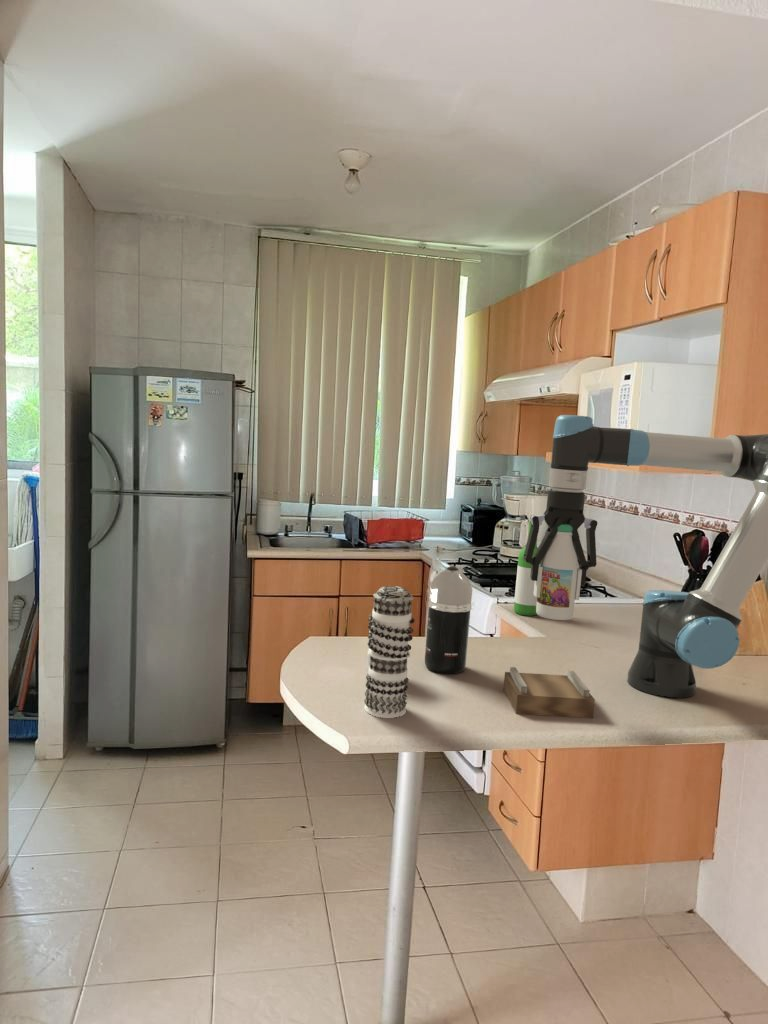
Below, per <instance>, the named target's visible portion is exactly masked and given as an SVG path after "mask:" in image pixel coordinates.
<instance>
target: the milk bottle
mask: <svg viewBox="0 0 768 1024" xmlns="http://www.w3.org/2000/svg"><path fill="white" fill-rule="evenodd" d="M572 530H573V528H572V527H571V525H569V524H562V525H560V526H559V527H558V532H557V534H556V535H555V537H554V538H553V540H552V541H551V543H550V545H549V547H548V549H547V551H546V553H545V555H544V557H543V559H542V560H541V566H542V567H543V570H542V580H541V591H540V598H538V597H537V605H536V613H537V614H536V615H537V616H539V617H541V618H545V619H548V620H549V619H550V620H554V621H555V620H557V621H568V620H571V619H572V618H573V617H574V612H575V611H574V610H575V601H576V600H575V592H576V581H577V569H578V567H579V564H578V561H577V556H576V552H575V550H574V546H573V542H572V535H573V534H572ZM559 531H561V532H559Z"/></svg>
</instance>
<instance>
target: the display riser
mask: <svg viewBox="0 0 768 1024" xmlns="http://www.w3.org/2000/svg"><path fill="white" fill-rule="evenodd" d="M590 690H591V689H589V688H588V686H587V685H586V684H585V683H584V681H583V680H582V679H581V677H579V675H578V674H577V673H576V672H575V671H574V670H568V671H567V674H566V675H563V674H545V673H532V672H530V673H527V672H519V671H518V669H517V667H515V666H514V667H513V666H510V668H509V671H504V678H503V691H504V693H505V694H506V695H505V696H506V697H507V699H508V701H509V703H510V705H511V707H512V709H513V711H514V713H515V714H517V715H518V714H519V715H534V716H535V715H537V716H553V717H571V718H587V719H593V718H594V712H595V711H594V709H595V701H596V699H595V698H594V697H593V695H591V694H592V693H590V692H591V691H590Z"/></svg>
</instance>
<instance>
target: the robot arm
mask: <svg viewBox="0 0 768 1024" xmlns="http://www.w3.org/2000/svg"><path fill="white" fill-rule="evenodd" d="M593 422H594V421H593V418H592V417H591V416H585V415H574V414H573V415H572V414H561V415H559V416H557V417H556V420H555V423H554V429H553V435H552V449H551V460H550V463H551V464H550V469H549V478H548V479H549V480H548V487H550V488H551V489H549V490H548V491H547V500H546V508H545V509H546V510H545V511H544V513H543V514H540V515H538V514H537V515H535V514H532V515H530V519H529V520H530V521H531V529H530V533H529V537H528V536H527V541H526V545H525V547H526V549H525V552H524V556H523V559H524V560H525V561H526V562H528V563H530V564H531V576H530V577H531V580H532V581H535V583H534V593H533V595H534V596H535V597H538V598H540V591H541V580H542V570H543V567H542V566H541V565H539V564H540V562H541V560H542V559H543V557H544V555H545V553H546V551H547V549H548V547H549V545H550V543H551V541H552V540H553V538H554V537H555V535H556V534H557V532H558V527H559V526H560V525H562V524H569V525H571V527H572V528H573V530H572V534H573V535H572V542H573V546H574V550H575V552H576V556H577V561H578V569H577V581H576V592H575V601H580V596H581V595H580V593H581V585H585V583H586V579H587V571H588V570H589V568H592V567H593V568H595V567H596V566H597V547H596V545H597V544H596V530H597V526H598V521H597V520H596V519H594V518H586V516H585V515H584V507H585V498H586V494H585V493H584V492H583V491H584V490H586V488H587V476H588V470H589V463H591V464H605V465H614V466H615V465H616V466H618V465H619V466H626V467H630V466H633V467H634V466H635V467H636V466H646V467H647V466H648V467H658V468H659V467H660V468H670V469H671V468H672V469H673V468H674V469H682V470H683V469H684V470H694V471H707V472H717V473H719V472H720V474H721V475H722V476H724V477H727V478H737V479H741V480H746V481H751V482H752V484H753V486H754V487H753V488H754V490H755V493H754V495H753V496H752V498H751V500H750V502H749V504H748V505H747V507H746V508H745V509H744V512H743V513H742V516H741V517H740V519H739V521H738V522H737V524H736V526H735V528H734V529H733V531H732V533H731V534H730V536H729V537H728V540H727V541H726V543H725V545H724V546H723V549H722V550H721V552H720V554H718V556H717V559H716V561H715V563H714V564H713V566H712V567H711V569H710V571H709V573H708V575H707V576H706V578H705V580H704V581H703V583H702V585H701V587H700V588H698V589H696V590H690V591H689V592H686V591H676V590H667V589H666V590H665V589H651V590H648V591H646V593H645V595H644V599H643V603H642V613H641V624H640V632H639V640H638V641H639V642H638V650H637V653H636V654H635V657H634V659H633V661H632V663H631V665H630V667H629V669H628V673H627V683H628V685H629V686H631V687H633V688H634V689H637V690H638V691H641V692H645V693H647V694H651V695H655V696H658V695H661V696H660V697H664V696H667V697H666V698H673V697H677V699H680V698H679V697H684V698H689V697H692V696H694V695H695V694H696V687H697V682H696V677H695V671H694V668H693V666H694V667H697V668H700V669H710V670H711V669H715V668H719V667H722V666H724V665H725V664H727V663H728V662H730V661H731V660H732V659H733V658H734V656H735V655H736V654H737V652H738V650H739V646H740V637H739V632H738V627H739V626H740V624H741V622H742V620H743V617H742V615H741V612H740V608H741V607H742V605H743V604H744V601H746V598H747V595H748V594H749V592H750V591H751V590H752V587H753V586H754V584H755V582H756V580H757V579H758V577H759V576H760V574H761V572H762V571H763V568H764V567H765V565H766V564H767V561H768V433H764V434H755V435H754V434H753V435H752V434H750V435H749V434H748V435H742V434H741V435H739V434H729V435H728V436H726V437H725V438H721V437H720V438H719V437H710V436H709V437H708V436H698V435H697V436H696V435H684V434H673V433H663V432H649V431H644V430H642V429H641V430H639V429H634V428H619V427H618V428H617V427H600V426H595V425H594V424H593ZM543 522H545V523H546V525H547V526H548V527H547V529H546V531H545V533H544V536H543V538H542V539H541V541H540V544H539V545H538V546H537V547H538V549H537V551H536V553H535V555H534V557H533V558H532V556H533V552H534V548H535V544H536V540H537V541H538V536H539V532H540V526H541V525H542V524H543ZM583 524H584V528H585V536H586V537H585V538H586V539H585V542H586V543H585V544H586V557H585V553H584V549H583V547H582V542H581V539H580V534H579V531H578V529H579V528H580V527H582V525H583ZM559 532H561V531H559Z"/></svg>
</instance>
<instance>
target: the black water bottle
mask: <svg viewBox="0 0 768 1024" xmlns="http://www.w3.org/2000/svg"><path fill="white" fill-rule="evenodd" d="M428 596H429V598H428V604H427V605H428V612H427V614H428V616H427V623H426V624H427V626H426V638H425V651H424V652H425V653H424V665H425V666H426V668H427V669H429V670H431V672H436V673H439V674H452V675H453V674H458V673H461V672H463V671H464V670H465V668H466V666H467V655H468V644H469V632H470V619H471V610H472V598H473V587H472V583H471V581H470V580H469V578H468V577H467V576H466V575H465V574H464V573H463V572H462V571H461V570H460V569H459V568H458V567H457V566H455V565H449V566H448V567H447V568H445V569H444V570H441V572H439V573H438V574H436V576H435V577H434V578H433V580H432V581H431V582H430V587H429V595H428Z"/></svg>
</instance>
